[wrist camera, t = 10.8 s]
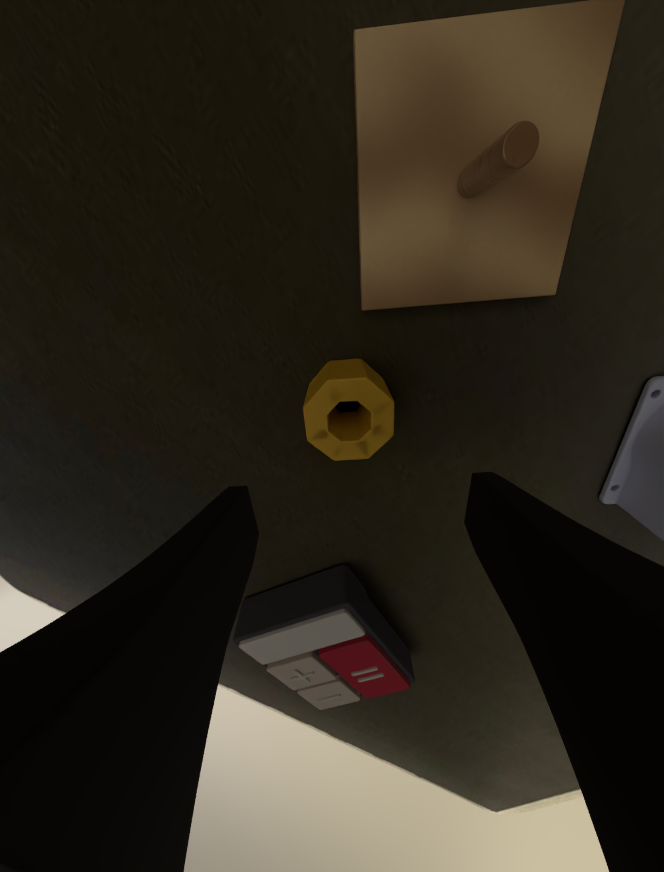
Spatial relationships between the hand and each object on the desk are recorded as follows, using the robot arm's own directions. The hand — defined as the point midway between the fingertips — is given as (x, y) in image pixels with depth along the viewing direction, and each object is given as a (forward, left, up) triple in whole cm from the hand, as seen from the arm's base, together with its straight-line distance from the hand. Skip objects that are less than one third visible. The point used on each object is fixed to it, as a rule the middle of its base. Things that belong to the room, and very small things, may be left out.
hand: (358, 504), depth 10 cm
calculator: (-24, +3, -11) cm, 26 cm away
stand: (+10, -6, -10) cm, 16 cm away
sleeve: (0, 0, -10) cm, 10 cm away
